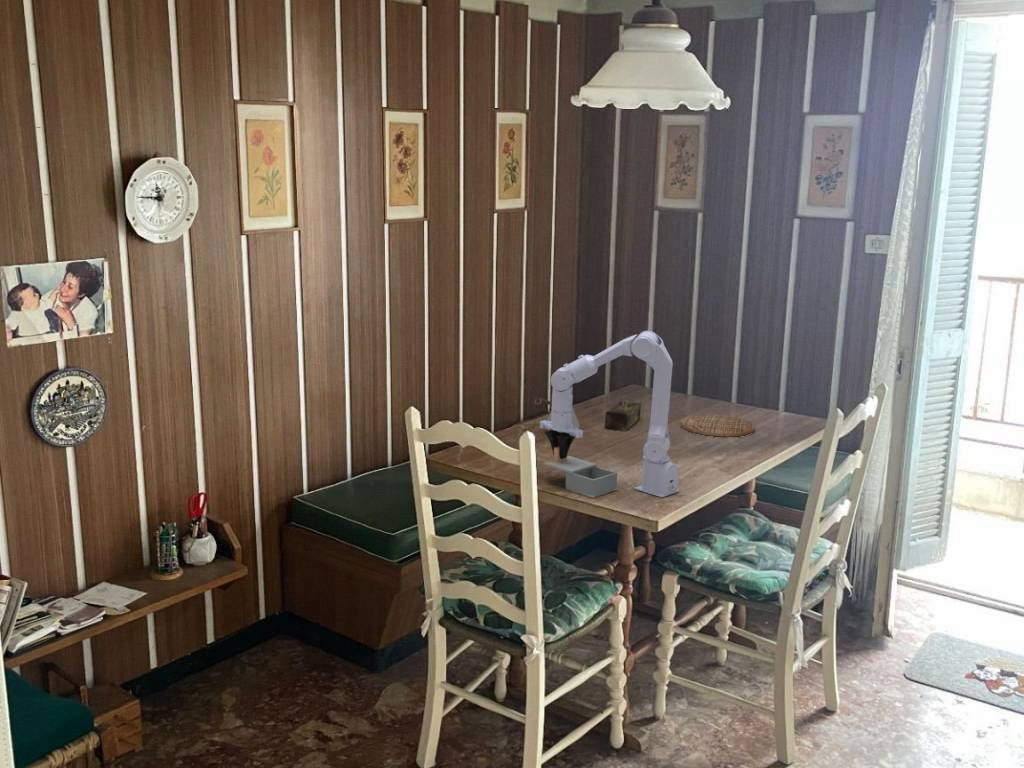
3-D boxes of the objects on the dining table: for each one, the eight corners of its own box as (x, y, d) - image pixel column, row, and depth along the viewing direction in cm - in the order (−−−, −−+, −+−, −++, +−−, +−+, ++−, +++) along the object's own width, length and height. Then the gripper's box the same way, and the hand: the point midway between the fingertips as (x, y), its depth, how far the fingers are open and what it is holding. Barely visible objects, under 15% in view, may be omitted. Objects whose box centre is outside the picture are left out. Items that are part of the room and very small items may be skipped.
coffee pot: (556, 427, 342) (558, 384, 339) (586, 433, 336) (587, 389, 332) (521, 440, 325) (522, 395, 322) (551, 447, 319) (552, 400, 315)
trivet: (752, 442, 331) (752, 436, 331) (675, 434, 338) (676, 429, 337) (755, 423, 355) (756, 418, 354) (684, 417, 361) (684, 411, 361)
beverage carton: (641, 419, 356) (642, 401, 354) (626, 432, 339) (627, 413, 337) (619, 416, 359) (620, 398, 357) (603, 429, 341) (604, 411, 340)
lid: (596, 466, 283) (597, 450, 282) (572, 473, 276) (572, 457, 275) (568, 457, 290) (569, 442, 289) (544, 464, 283) (544, 449, 282)
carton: (616, 490, 279) (617, 472, 278) (593, 498, 272) (593, 480, 271) (588, 481, 286) (589, 464, 285) (565, 489, 279) (566, 471, 278)
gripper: (590, 413, 280) (588, 460, 283) (552, 403, 290) (550, 449, 293) (574, 417, 275) (572, 465, 278) (535, 407, 285) (534, 453, 288)
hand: (560, 457), depth 285 cm, fingers closed
